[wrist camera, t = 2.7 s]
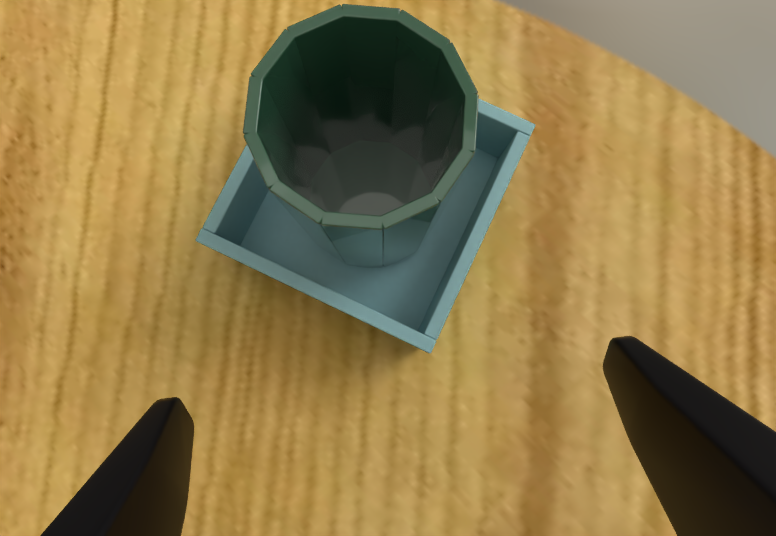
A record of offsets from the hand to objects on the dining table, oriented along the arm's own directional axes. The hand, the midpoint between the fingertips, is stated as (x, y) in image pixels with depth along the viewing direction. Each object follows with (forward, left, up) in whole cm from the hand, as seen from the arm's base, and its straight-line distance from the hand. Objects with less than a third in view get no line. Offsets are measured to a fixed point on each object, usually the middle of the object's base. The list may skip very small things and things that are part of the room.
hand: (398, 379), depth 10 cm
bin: (+2, +7, -13) cm, 15 cm away
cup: (+2, +7, -13) cm, 15 cm away
